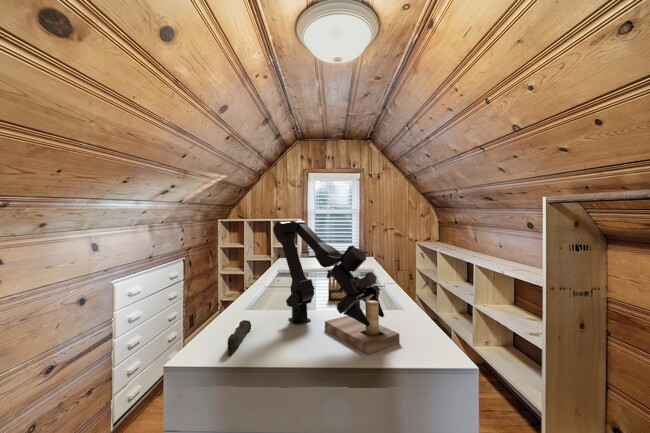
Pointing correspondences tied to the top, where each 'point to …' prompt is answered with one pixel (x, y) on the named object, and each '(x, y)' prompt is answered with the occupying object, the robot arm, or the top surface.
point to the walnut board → (361, 335)
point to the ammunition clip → (334, 291)
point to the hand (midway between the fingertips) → (376, 320)
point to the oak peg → (372, 318)
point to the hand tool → (238, 336)
